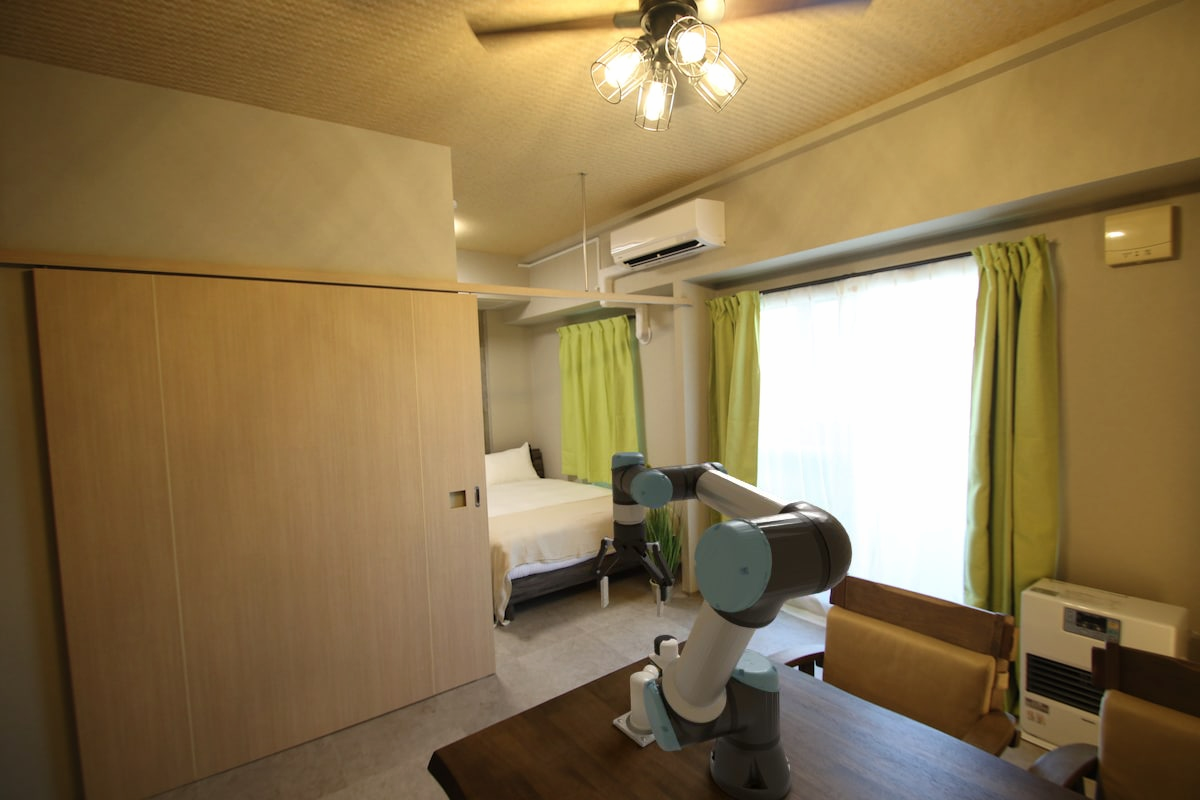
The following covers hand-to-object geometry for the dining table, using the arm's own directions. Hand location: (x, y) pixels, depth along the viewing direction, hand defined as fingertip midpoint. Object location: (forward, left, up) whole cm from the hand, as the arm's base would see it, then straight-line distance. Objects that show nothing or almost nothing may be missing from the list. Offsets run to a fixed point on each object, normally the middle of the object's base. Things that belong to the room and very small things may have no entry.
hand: (632, 609), depth 122 cm
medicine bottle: (+3, -13, -25) cm, 28 cm away
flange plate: (-5, +2, -24) cm, 25 cm away
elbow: (-4, 0, -23) cm, 24 cm away
